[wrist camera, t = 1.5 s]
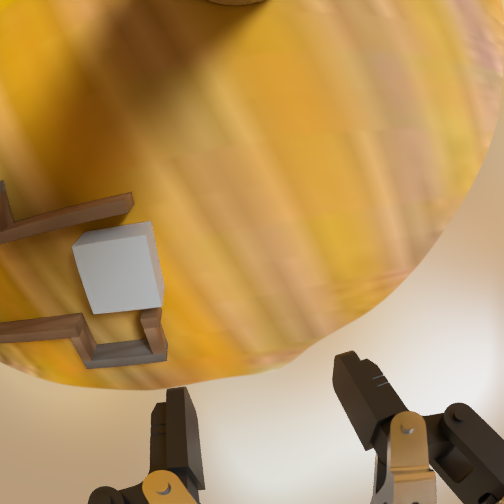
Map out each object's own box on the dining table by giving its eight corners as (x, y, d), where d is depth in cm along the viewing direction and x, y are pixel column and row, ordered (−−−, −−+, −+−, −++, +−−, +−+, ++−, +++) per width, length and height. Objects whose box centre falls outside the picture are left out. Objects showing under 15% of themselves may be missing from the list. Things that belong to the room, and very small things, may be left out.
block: (85, 230, 23) (71, 246, 20) (151, 219, 24) (145, 234, 20) (103, 292, 25) (93, 314, 22) (164, 284, 26) (162, 306, 23)
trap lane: (-57, 207, 18) (-71, 215, 15) (122, 142, 20) (114, 144, 18) (7, 357, 26) (0, 371, 23) (172, 343, 28) (172, 360, 26)
